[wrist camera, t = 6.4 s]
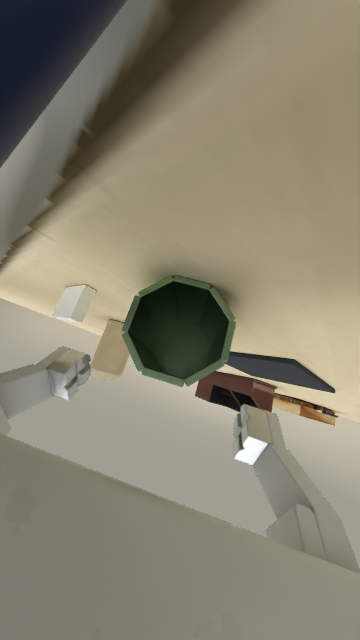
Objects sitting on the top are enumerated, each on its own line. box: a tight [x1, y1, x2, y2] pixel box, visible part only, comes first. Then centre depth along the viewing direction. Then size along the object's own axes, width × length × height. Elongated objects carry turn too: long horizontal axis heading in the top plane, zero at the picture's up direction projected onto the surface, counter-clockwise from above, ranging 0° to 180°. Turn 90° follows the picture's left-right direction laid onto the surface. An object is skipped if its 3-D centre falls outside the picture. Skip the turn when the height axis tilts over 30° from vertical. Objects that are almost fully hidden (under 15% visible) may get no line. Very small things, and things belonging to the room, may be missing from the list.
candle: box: [90, 320, 130, 381], centre depth 34 cm, size 6×6×10 cm
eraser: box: [52, 285, 96, 323], centre depth 21 cm, size 1×5×4 cm, turn 126°
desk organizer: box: [195, 371, 277, 412], centre depth 70 cm, size 10×29×11 cm, turn 151°
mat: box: [224, 352, 335, 393], centre depth 35 cm, size 20×16×1 cm
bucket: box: [122, 276, 236, 387], centre depth 16 cm, size 10×6×6 cm, turn 1°
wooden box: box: [272, 393, 342, 425], centre depth 94 cm, size 25×6×28 cm
